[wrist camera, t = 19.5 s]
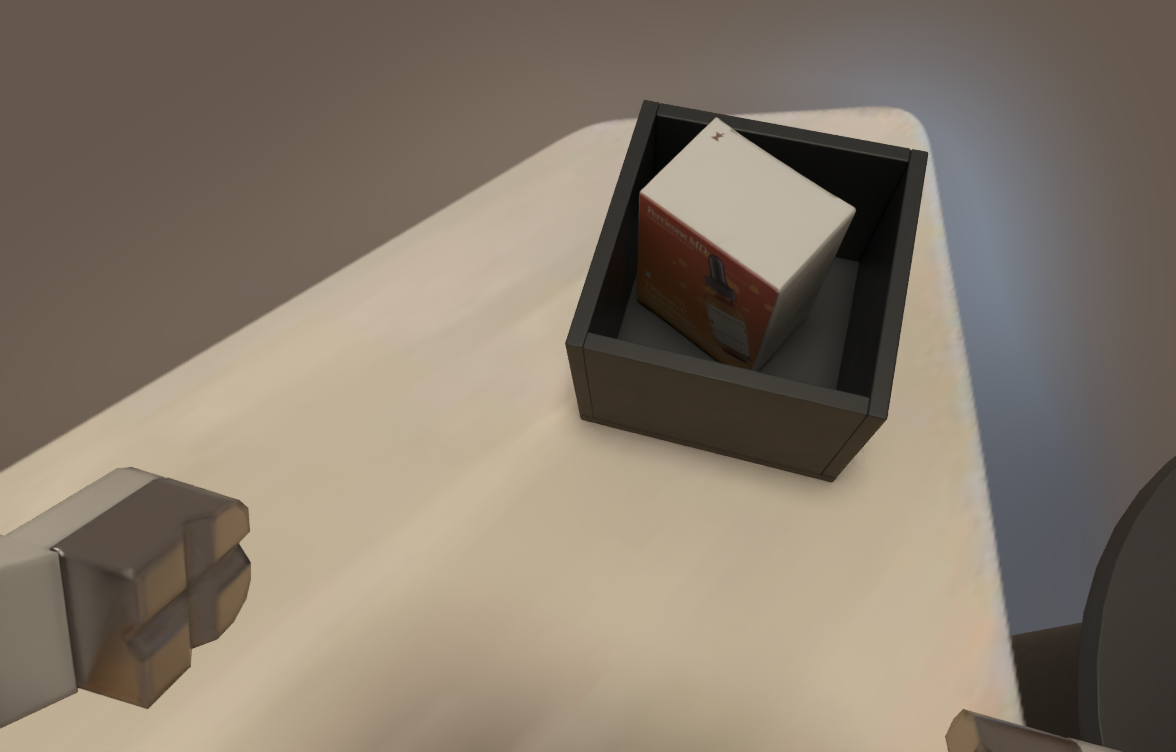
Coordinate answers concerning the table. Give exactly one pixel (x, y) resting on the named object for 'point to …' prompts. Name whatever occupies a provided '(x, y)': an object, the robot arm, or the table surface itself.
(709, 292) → the small box
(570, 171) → the table surface
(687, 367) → the trash bin
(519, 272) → the table surface
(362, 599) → the table surface
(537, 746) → the table surface
